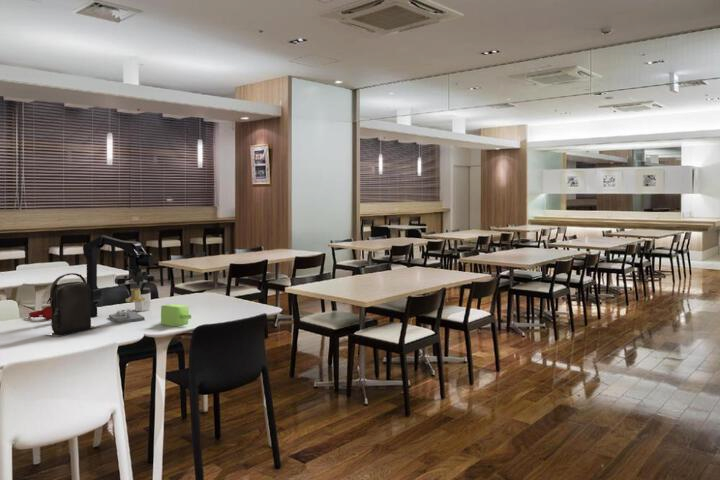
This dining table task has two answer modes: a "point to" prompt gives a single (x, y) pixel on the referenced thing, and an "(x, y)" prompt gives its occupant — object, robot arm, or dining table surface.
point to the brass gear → (135, 296)
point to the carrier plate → (126, 316)
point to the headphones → (42, 313)
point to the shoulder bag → (70, 307)
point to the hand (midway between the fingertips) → (135, 295)
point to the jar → (146, 303)
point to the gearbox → (175, 315)
